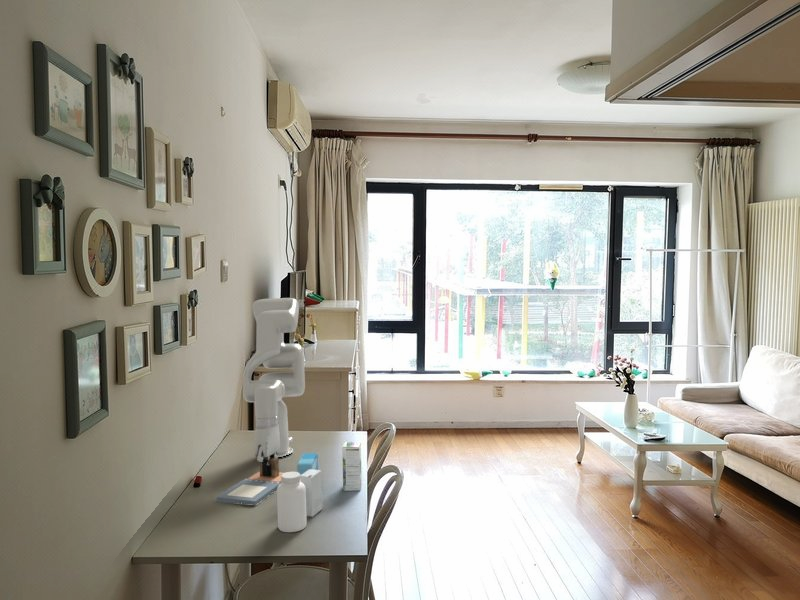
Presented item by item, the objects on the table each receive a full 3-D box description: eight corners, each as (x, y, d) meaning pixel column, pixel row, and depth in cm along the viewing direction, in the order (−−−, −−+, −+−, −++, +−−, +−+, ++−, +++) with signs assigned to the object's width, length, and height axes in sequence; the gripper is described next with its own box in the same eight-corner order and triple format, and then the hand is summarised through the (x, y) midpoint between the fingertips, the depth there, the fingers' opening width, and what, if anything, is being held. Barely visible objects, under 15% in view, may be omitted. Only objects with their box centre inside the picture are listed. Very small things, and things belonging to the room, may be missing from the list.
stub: (260, 474, 212) (259, 453, 211) (291, 477, 208) (290, 456, 207) (247, 482, 204) (246, 461, 204) (279, 486, 200) (278, 464, 200)
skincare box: (310, 507, 182) (308, 468, 182) (323, 509, 181) (322, 469, 180) (299, 515, 177) (298, 475, 176) (313, 517, 175) (311, 477, 174)
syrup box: (344, 484, 200) (342, 441, 199) (362, 484, 200) (360, 441, 199) (343, 491, 194) (341, 447, 193) (361, 490, 194) (359, 446, 193)
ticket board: (244, 483, 204) (244, 478, 204) (281, 486, 200) (281, 482, 200) (216, 501, 189) (216, 496, 189) (255, 506, 185) (255, 501, 185)
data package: (313, 502, 186) (311, 464, 185) (298, 502, 186) (296, 464, 186) (319, 487, 198) (317, 451, 197) (305, 487, 198) (303, 452, 197)
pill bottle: (308, 530, 167) (306, 477, 166) (279, 535, 165) (276, 481, 164) (305, 518, 174) (302, 468, 173) (276, 523, 172) (274, 471, 171)
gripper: (269, 414, 213) (271, 465, 215) (244, 427, 198) (246, 482, 200) (288, 415, 211) (290, 467, 212) (264, 428, 196) (266, 484, 197)
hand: (269, 474), depth 206 cm, fingers closed on stub, 2 cm apart
